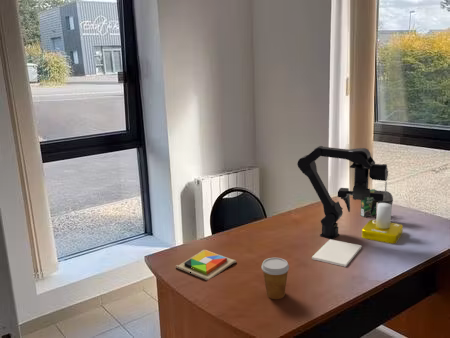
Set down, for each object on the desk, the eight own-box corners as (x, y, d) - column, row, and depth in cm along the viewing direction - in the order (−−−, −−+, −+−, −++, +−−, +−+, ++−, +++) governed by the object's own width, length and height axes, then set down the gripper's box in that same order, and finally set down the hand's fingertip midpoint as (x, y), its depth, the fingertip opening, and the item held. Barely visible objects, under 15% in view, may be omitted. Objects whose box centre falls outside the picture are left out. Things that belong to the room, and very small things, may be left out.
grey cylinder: (374, 223, 202) (375, 202, 199) (387, 223, 202) (389, 202, 199) (378, 228, 196) (379, 207, 193) (391, 228, 196) (393, 207, 193)
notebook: (311, 259, 180) (311, 256, 180) (329, 241, 196) (329, 239, 196) (345, 266, 172) (345, 264, 172) (361, 247, 188) (361, 245, 188)
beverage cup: (375, 224, 213) (377, 184, 208) (376, 218, 219) (378, 180, 214) (391, 225, 210) (393, 185, 205) (392, 220, 217) (394, 181, 212)
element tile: (360, 238, 198) (360, 228, 197) (370, 227, 210) (370, 217, 209) (395, 245, 190) (395, 235, 189) (403, 233, 202) (403, 223, 201)
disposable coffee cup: (286, 286, 160) (286, 256, 157) (291, 301, 151) (291, 268, 148) (260, 288, 160) (259, 257, 157) (263, 302, 150) (262, 270, 147)
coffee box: (363, 217, 221) (364, 192, 218) (359, 215, 224) (360, 191, 221) (376, 215, 224) (377, 190, 221) (372, 213, 227) (373, 188, 224)
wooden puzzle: (174, 269, 178) (173, 261, 177) (206, 252, 191) (206, 245, 190) (205, 282, 166) (205, 274, 166) (237, 263, 180) (237, 255, 179)
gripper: (335, 181, 185) (334, 217, 189) (383, 185, 177) (381, 221, 181) (340, 174, 194) (339, 208, 198) (385, 177, 187) (383, 212, 191)
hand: (360, 212), depth 192 cm, fingers open, 9 cm apart
